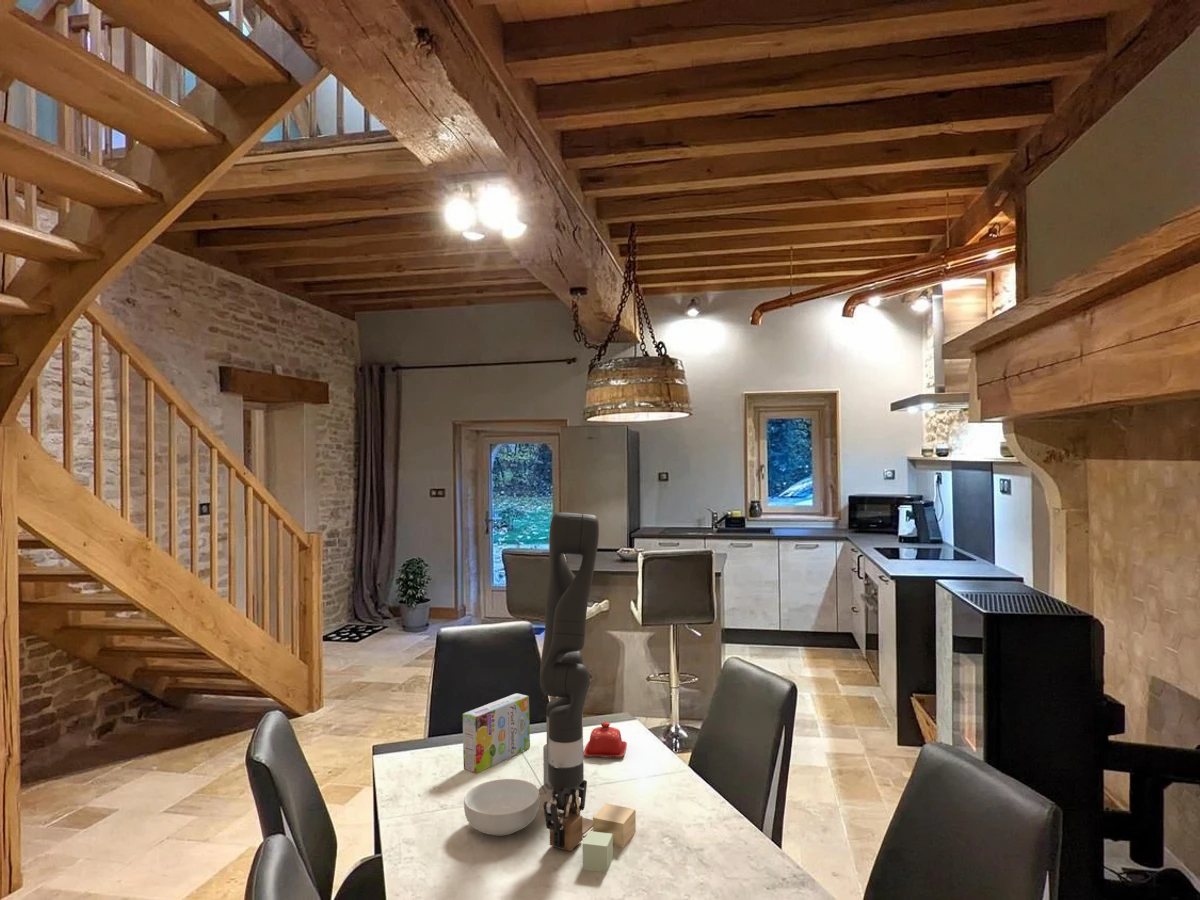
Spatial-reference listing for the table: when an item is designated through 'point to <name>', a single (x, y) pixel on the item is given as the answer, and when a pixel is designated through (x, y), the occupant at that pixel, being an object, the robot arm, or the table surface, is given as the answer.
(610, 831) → the oak base block
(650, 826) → the table surface
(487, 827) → the cereal bowl
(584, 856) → the sage cube
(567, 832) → the walnut cube
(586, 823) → the walnut swatch
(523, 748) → the snack box
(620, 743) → the butter dish
